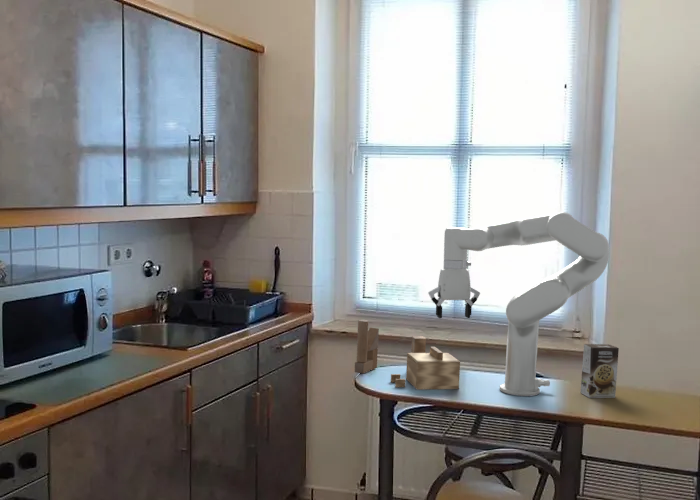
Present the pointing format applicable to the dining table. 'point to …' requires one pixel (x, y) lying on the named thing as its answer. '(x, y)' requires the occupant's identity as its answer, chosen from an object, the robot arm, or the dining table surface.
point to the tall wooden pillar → (418, 344)
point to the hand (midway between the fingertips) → (453, 317)
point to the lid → (432, 356)
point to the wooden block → (366, 347)
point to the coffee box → (599, 370)
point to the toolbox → (430, 374)
